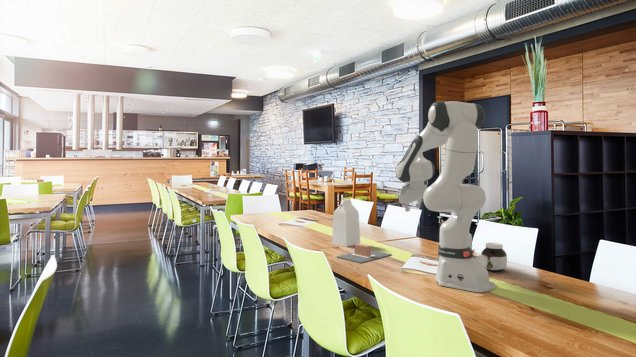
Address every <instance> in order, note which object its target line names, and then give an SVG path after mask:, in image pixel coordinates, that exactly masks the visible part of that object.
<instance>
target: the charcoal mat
mask: <svg viewBox="0 0 636 357" xmlns="http://www.w3.org/2000/svg"><path fill="white" fill-rule="evenodd" d="M392 255H393V254H392V253H388V252H383V251H378V250H374V249H371V256H367V257H366V256H361V255H357V254H355V251H354V252H351V253H345V254H342V255H341V254H340V255H337V256H336V258H337V259H341V260H346V261H350V262H354V263H357V264H364V263H367V262H368V263H369V262H371V261H375V260H379V259H382V258H387V257H390V256H392Z"/></svg>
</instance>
